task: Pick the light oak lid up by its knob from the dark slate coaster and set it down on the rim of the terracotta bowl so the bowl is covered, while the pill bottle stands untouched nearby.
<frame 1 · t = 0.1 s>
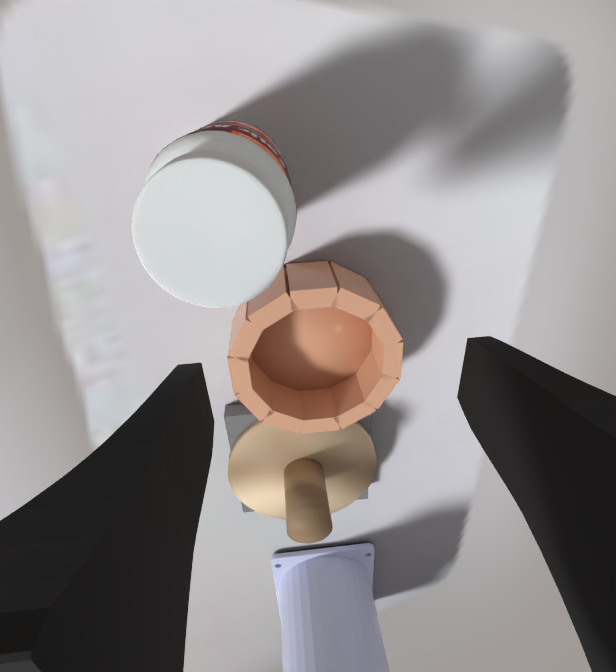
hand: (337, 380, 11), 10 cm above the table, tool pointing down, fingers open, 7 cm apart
pill bottle: (233, 180, 18), on the table
coaster: (301, 449, 26), on the table
bowl: (310, 333, 22), on the table
lid: (302, 462, 26), point 1 cm above the table, touching coaster
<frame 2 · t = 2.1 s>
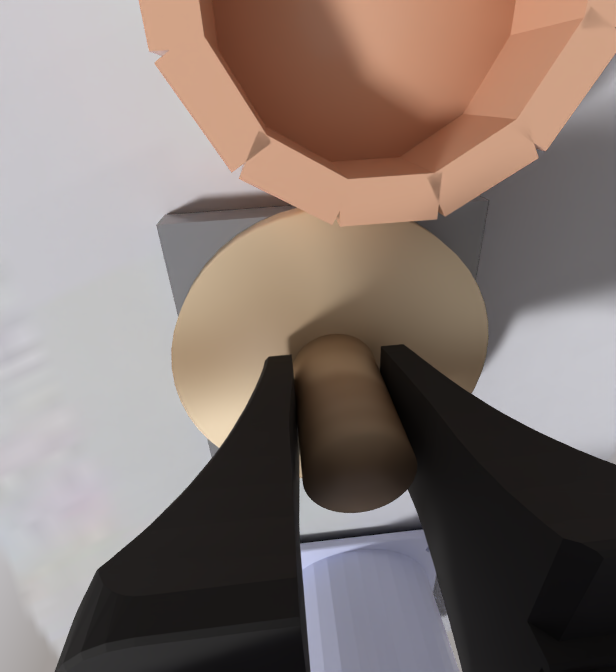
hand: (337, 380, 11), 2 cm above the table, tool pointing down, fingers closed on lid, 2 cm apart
coaster: (325, 336, 13), on the table
lid: (329, 354, 12), point 1 cm above the table, touching coaster, gripper
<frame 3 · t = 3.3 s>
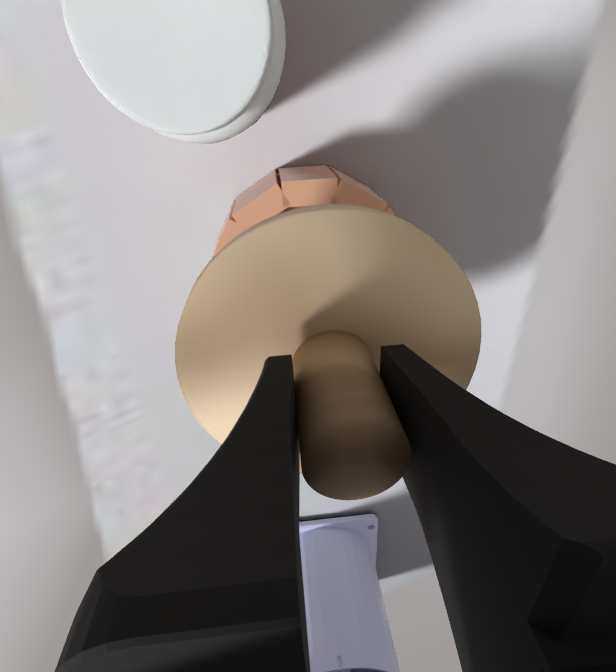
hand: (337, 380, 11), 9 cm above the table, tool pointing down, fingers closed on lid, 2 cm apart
pill bottle: (215, 57, 15), on the table
bowl: (307, 258, 19), on the table
lid: (328, 351, 13), point 8 cm above the table, touching gripper
when the fingers open (5 cm above the table, at t = 4.3 s): lid stays where it is, resting on bowl.
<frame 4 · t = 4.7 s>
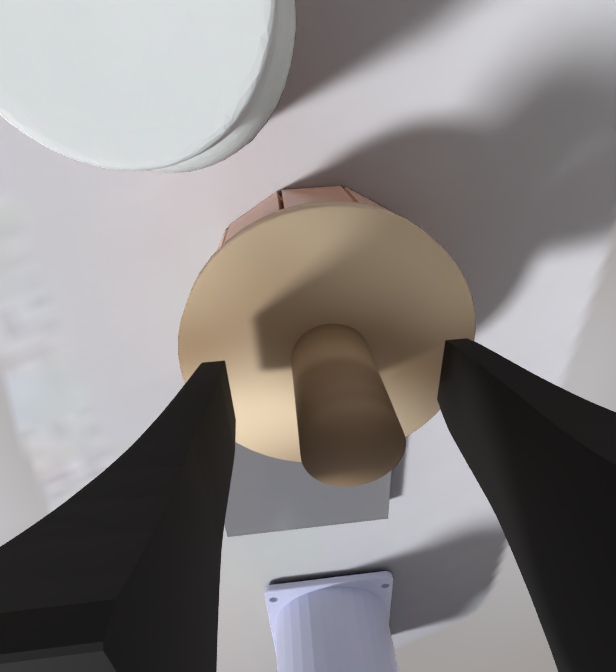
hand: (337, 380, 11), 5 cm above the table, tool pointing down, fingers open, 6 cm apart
pill bottle: (200, 50, 12), on the table
coaster: (302, 455, 20), on the table
bowl: (315, 297, 16), on the table
lid: (326, 344, 13), point 3 cm above the table, touching bowl
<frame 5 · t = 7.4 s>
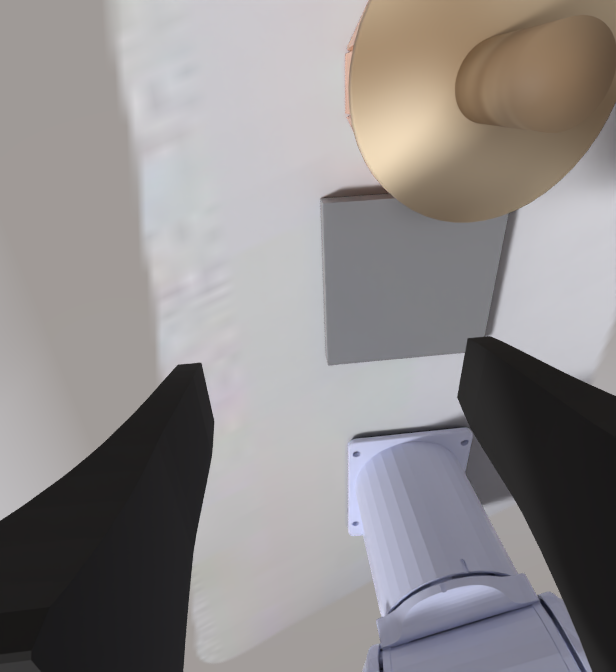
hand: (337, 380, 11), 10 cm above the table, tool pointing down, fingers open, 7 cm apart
coaster: (405, 278, 21), on the table
bowl: (445, 78, 16), on the table
lid: (480, 82, 14), point 3 cm above the table, touching bowl
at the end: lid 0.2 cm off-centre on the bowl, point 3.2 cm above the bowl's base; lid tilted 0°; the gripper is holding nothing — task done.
